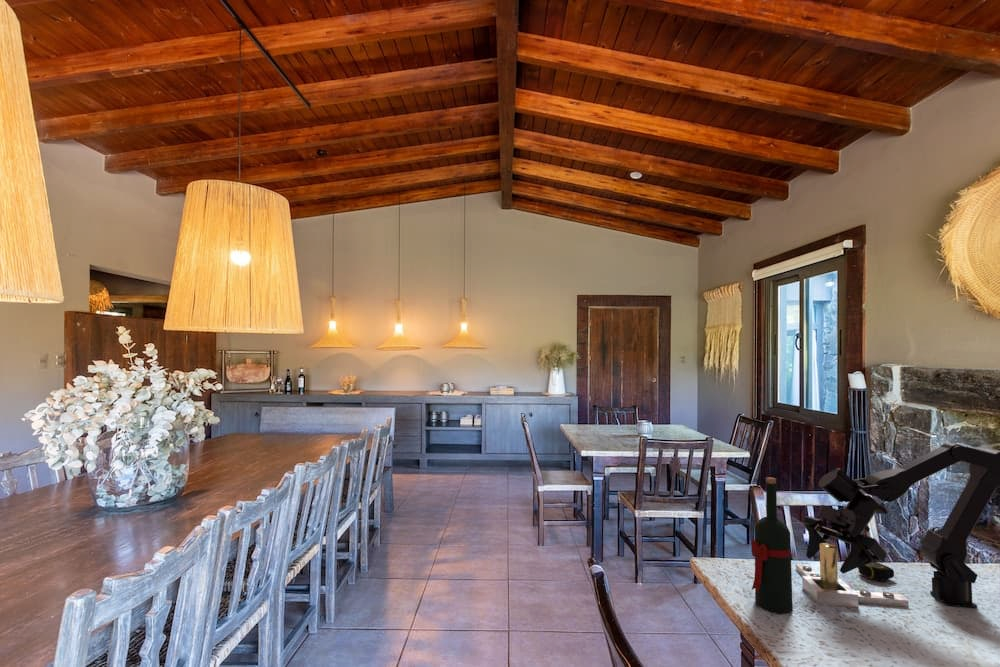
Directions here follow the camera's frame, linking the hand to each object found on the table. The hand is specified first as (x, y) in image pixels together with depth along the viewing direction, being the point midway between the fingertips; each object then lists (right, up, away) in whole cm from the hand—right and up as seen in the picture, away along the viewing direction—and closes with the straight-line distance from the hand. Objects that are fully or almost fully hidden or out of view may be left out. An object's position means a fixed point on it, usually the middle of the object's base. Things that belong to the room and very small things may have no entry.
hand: (824, 564), depth 123 cm
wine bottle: (-16, -8, -5) cm, 18 cm away
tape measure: (+22, -9, +12) cm, 26 cm away
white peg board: (+8, -8, +5) cm, 13 cm away
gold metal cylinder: (+1, -8, 0) cm, 8 cm away
